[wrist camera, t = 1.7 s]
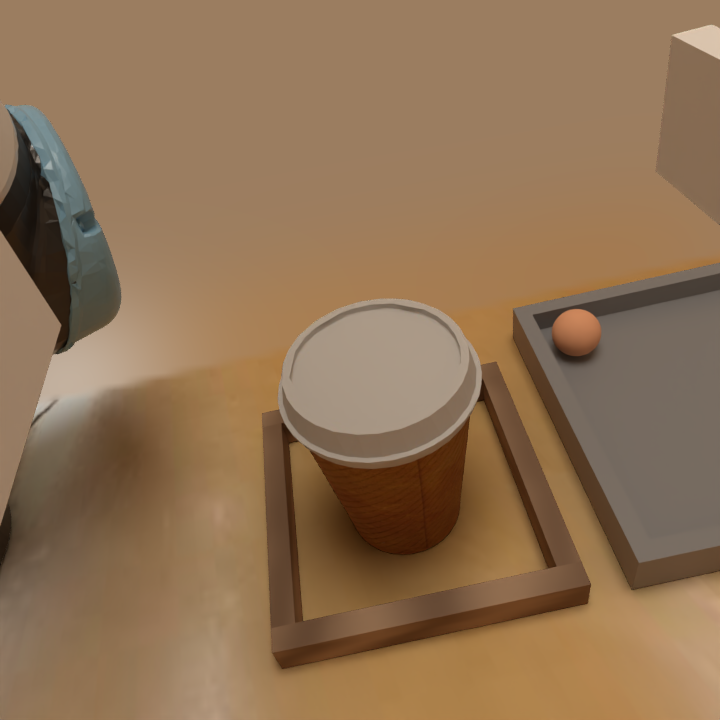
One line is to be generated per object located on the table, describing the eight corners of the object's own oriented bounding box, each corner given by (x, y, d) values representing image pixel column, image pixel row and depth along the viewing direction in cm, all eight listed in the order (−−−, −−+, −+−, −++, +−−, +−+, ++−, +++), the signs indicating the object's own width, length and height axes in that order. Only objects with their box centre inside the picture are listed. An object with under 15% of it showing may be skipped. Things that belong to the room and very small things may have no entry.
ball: (560, 370, 41) (562, 336, 39) (544, 339, 44) (545, 305, 42) (606, 360, 41) (611, 325, 39) (588, 329, 44) (592, 295, 41)
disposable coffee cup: (334, 441, 42) (290, 299, 34) (485, 437, 40) (477, 285, 32) (313, 582, 35) (251, 447, 27) (492, 584, 34) (485, 441, 25)
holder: (282, 668, 32) (272, 653, 31) (270, 432, 43) (262, 413, 42) (587, 603, 32) (590, 584, 31) (496, 382, 43) (496, 361, 42)
